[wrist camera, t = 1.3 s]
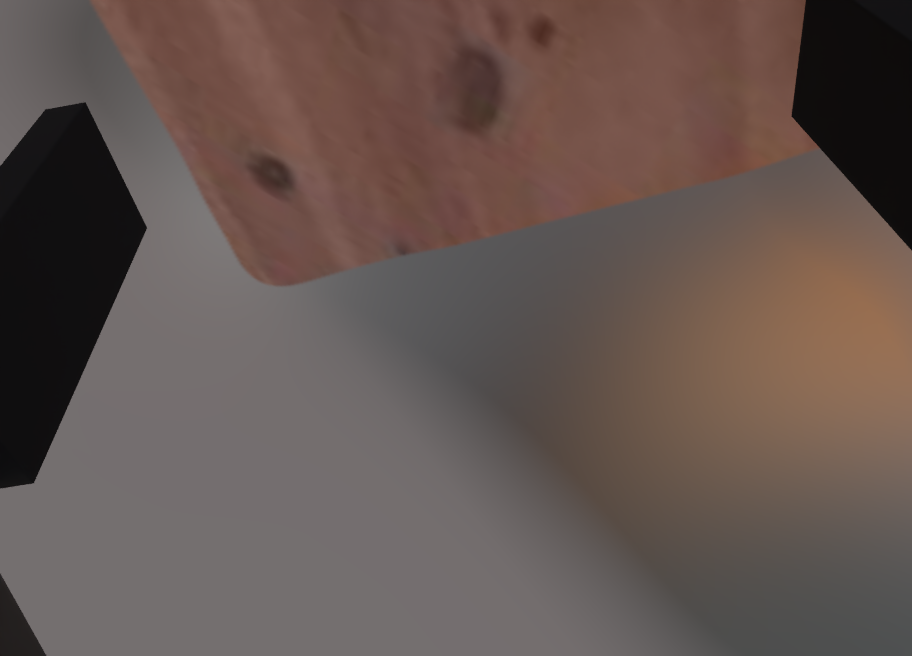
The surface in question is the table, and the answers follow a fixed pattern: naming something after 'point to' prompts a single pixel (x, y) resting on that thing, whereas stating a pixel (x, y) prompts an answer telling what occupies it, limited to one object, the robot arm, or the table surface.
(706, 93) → the table surface
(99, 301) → the robot arm
